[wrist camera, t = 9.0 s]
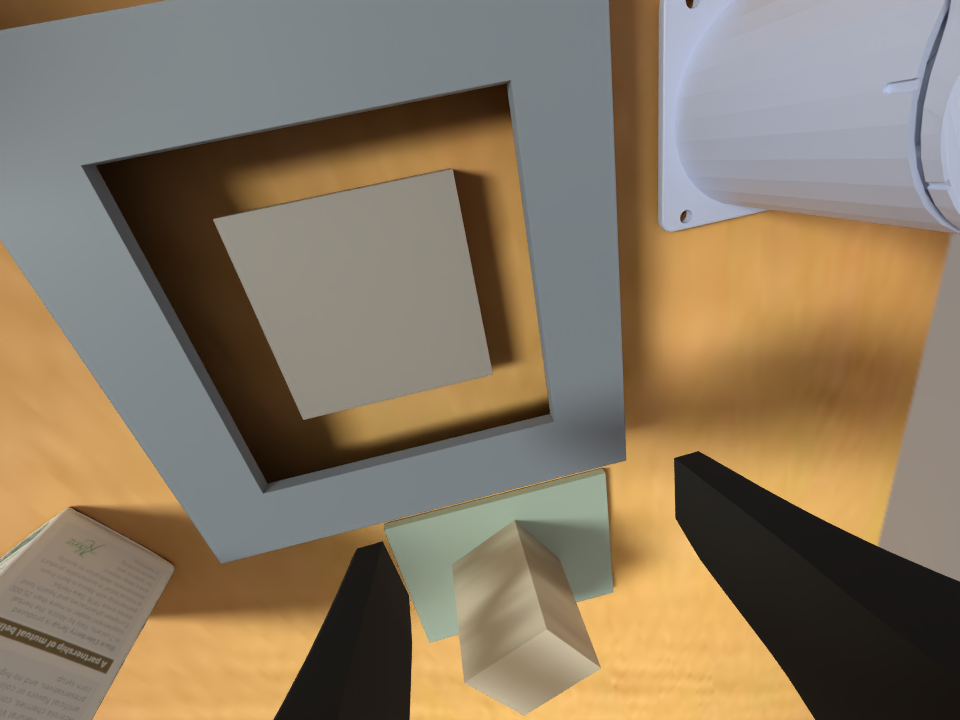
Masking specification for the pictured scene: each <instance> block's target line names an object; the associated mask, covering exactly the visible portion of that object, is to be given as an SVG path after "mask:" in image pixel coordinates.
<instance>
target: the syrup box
mask: <svg viewBox="0 0 960 720" xmlns="http://www.w3.org/2000/svg"><path fill="white" fill-rule="evenodd" d="M173 572H174V566H173V565H172V564H171V563H169V562H168V561H166V560H164V559H163V558H161V557H160V556H158V555H156V554H155V553H153V552H152V551H150V550H148V549H147V548H145V547H143V546H141V545H139V544H138V543H136V542H134V541H132V540H130V539H129V538H127V537H125V536H123V535H121V534H119V533H117V532H116V531H114V530H112V529H110V528H108V527H106V526H104V525H102V524H100V523H98V522H97V521H95V520H93V519H91V518H89V517H87V516H85V515H83V514H82V513H79V512H77V511H75V510H74V509H72V508H66V509H65V510H63V511H62V512H61V513H59V514H58V515H56V516H55V517H53V518H52V519H51V520H49V521H48V522H46V523H45V524H44V525H42V526H41V527H40V528H38V529H37V530H36V531H34V532H33V533H31V534H30V535H29V536H28V537H27V538H25V539H24V540H23V541H21V542H20V543H19V544H18V545H16V546H15V547H14V548H13V549H11V550H10V551H9V552H8V553H7V554H5V555H4V556H3V557H2V558H0V720H92V719H93V717H94V715H95V713H96V711H97V710H98V708H99V706H100V704H101V703H102V701H103V699H104V697H105V695H106V693H107V692H108V690H109V688H110V687H111V685H112V683H113V681H114V679H115V677H116V675H117V673H118V672H119V670H120V668H121V666H122V665H123V663H124V661H125V659H126V657H127V655H128V653H129V652H130V650H131V648H132V646H133V645H134V643H135V641H136V639H137V638H138V636H139V634H140V632H141V630H142V629H143V627H144V625H145V623H146V621H147V620H148V618H149V616H150V614H151V612H152V610H153V609H154V607H155V605H156V603H157V602H158V600H159V598H160V596H161V594H162V592H163V591H164V589H165V587H166V585H167V583H168V582H169V580H170V578H171V576H172V574H173Z"/></svg>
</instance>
